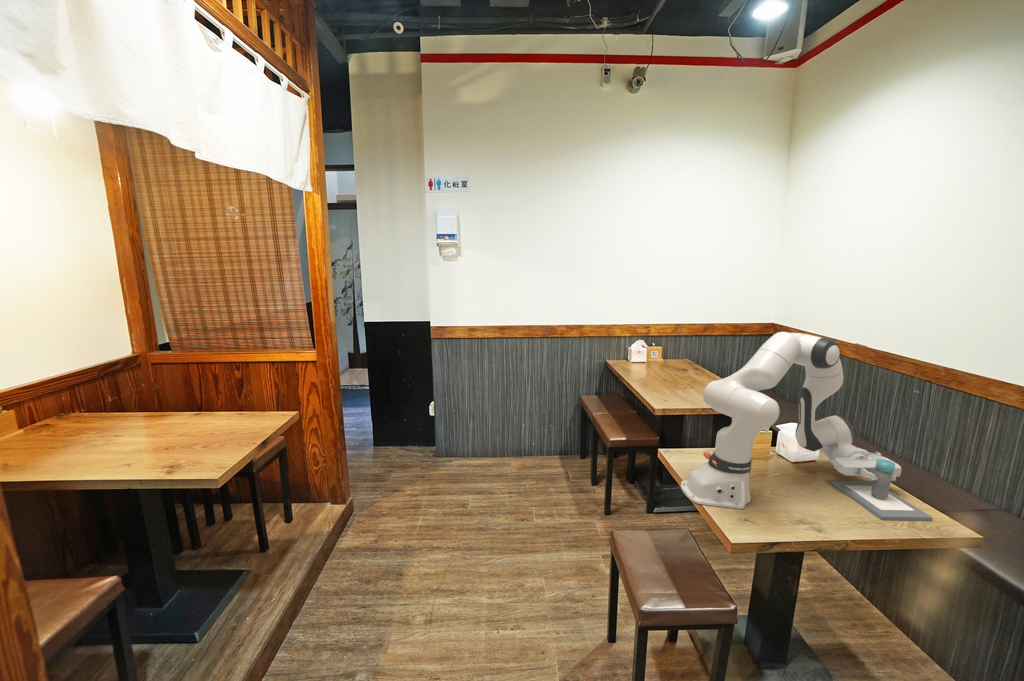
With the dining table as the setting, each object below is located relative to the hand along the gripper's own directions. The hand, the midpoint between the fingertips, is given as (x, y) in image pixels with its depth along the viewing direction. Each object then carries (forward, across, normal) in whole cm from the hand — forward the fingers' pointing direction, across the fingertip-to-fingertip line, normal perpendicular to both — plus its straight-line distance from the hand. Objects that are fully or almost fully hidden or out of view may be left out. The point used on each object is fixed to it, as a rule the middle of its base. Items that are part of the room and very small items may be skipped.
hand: (885, 478), depth 145 cm
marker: (-1, 0, +6) cm, 7 cm away
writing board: (-1, 0, +9) cm, 9 cm away
